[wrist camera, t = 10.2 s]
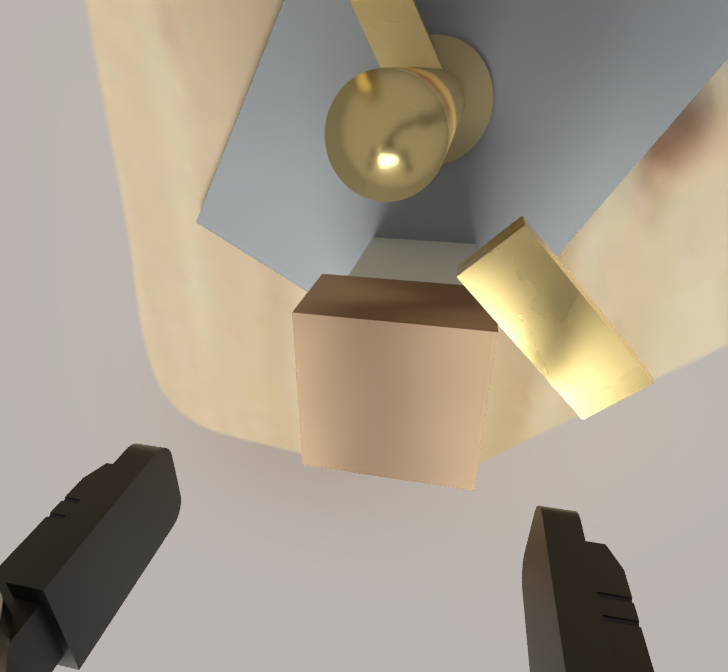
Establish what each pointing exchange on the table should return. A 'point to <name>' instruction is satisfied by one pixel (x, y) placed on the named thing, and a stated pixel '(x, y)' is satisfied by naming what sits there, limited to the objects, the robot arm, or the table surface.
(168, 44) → the table surface
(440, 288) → the tan squat block
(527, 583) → the robot arm
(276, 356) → the table surface
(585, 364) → the latch handle
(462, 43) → the plate
